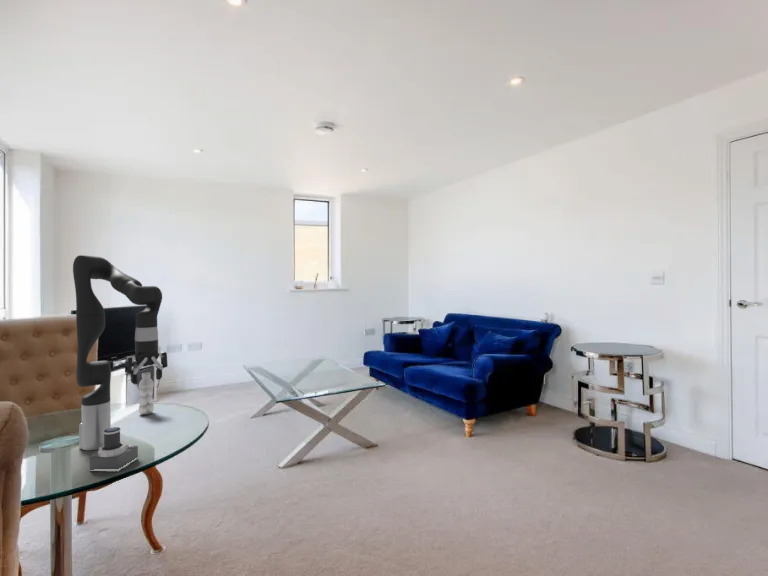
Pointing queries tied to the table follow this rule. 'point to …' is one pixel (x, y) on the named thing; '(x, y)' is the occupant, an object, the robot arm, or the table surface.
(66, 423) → the table surface
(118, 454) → the camera body
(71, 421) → the table surface
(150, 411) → the plastic bottle
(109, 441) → the lens
